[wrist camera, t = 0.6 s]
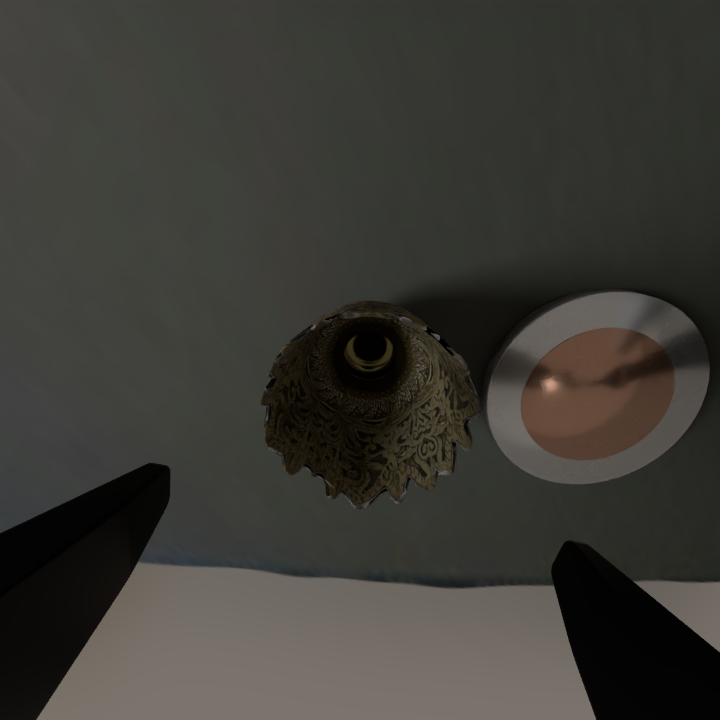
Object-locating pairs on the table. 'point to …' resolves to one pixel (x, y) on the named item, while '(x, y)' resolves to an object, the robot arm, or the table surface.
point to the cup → (369, 404)
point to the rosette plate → (595, 385)
